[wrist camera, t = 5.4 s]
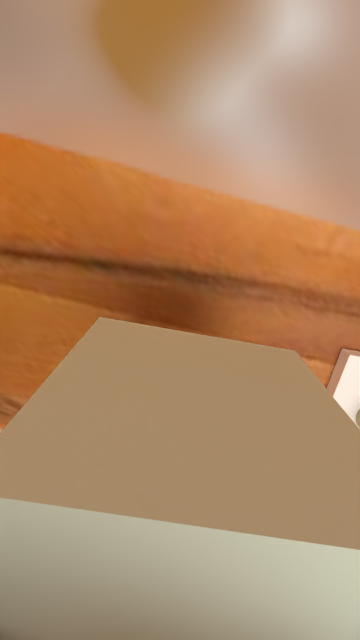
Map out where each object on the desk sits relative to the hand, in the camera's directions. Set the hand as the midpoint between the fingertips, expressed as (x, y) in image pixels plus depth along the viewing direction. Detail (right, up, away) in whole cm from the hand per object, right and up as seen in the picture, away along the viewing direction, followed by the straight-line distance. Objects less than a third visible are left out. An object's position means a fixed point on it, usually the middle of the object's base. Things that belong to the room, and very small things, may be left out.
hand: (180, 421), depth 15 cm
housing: (0, 0, 0) cm, 0 cm away
